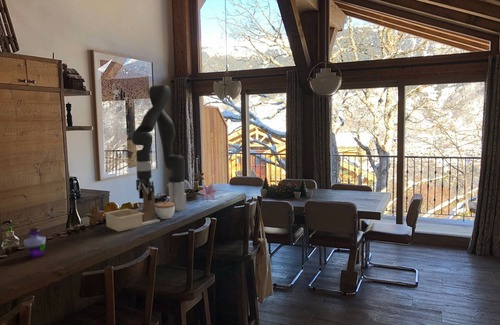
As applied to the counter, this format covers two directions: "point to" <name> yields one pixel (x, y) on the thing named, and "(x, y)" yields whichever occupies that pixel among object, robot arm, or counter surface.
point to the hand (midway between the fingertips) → (145, 199)
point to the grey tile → (151, 221)
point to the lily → (208, 191)
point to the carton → (123, 219)
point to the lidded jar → (165, 209)
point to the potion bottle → (35, 243)
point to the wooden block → (148, 207)
